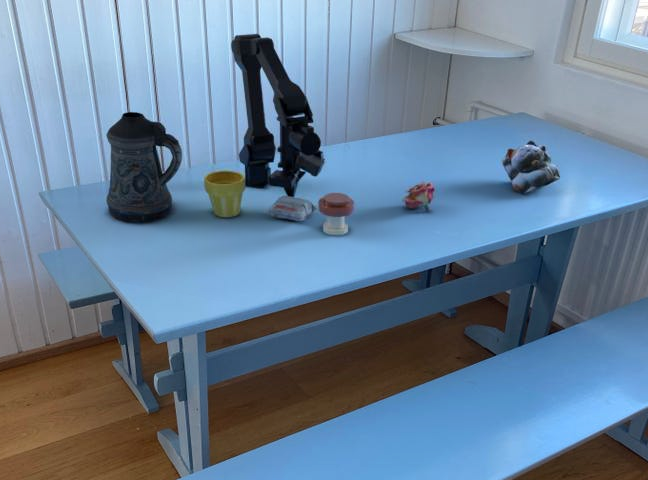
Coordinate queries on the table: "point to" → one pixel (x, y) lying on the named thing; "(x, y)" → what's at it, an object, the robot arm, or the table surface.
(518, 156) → the lucky cat figurine
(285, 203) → the packaged food
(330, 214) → the mushroom
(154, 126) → the beer stein
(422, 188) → the flower
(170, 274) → the table surface
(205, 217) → the table surface
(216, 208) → the flower pot
